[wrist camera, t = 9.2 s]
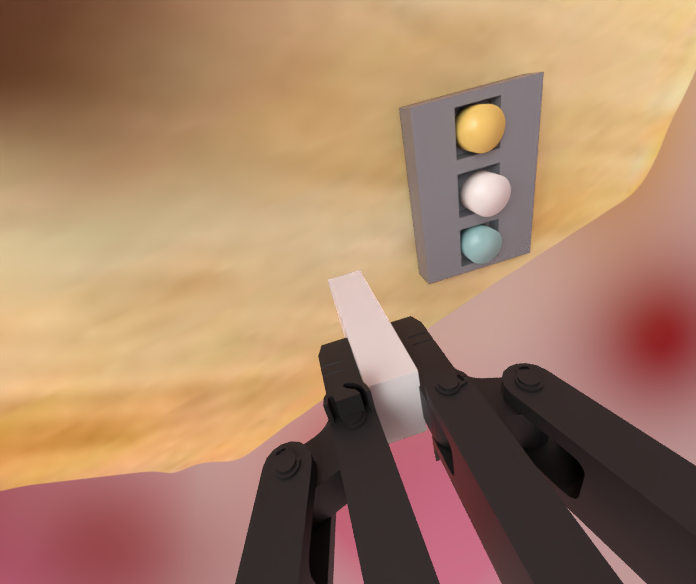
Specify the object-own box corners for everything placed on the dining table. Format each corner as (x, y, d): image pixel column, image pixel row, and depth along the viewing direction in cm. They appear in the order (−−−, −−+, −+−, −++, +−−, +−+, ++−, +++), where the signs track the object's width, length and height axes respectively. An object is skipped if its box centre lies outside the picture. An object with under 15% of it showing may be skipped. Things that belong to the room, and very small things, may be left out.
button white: (458, 176, 36) (472, 181, 34) (495, 165, 37) (511, 169, 34) (460, 214, 39) (473, 221, 36) (495, 204, 39) (510, 210, 37)
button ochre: (449, 110, 34) (463, 110, 32) (489, 99, 34) (506, 98, 32) (452, 154, 36) (465, 158, 34) (489, 144, 37) (504, 147, 34)
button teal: (455, 227, 41) (467, 235, 39) (488, 217, 41) (502, 224, 39) (457, 259, 43) (468, 268, 41) (488, 249, 44) (501, 257, 41)
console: (399, 107, 34) (409, 108, 32) (523, 74, 35) (543, 71, 33) (419, 273, 45) (428, 284, 42) (515, 244, 46) (529, 252, 43)
